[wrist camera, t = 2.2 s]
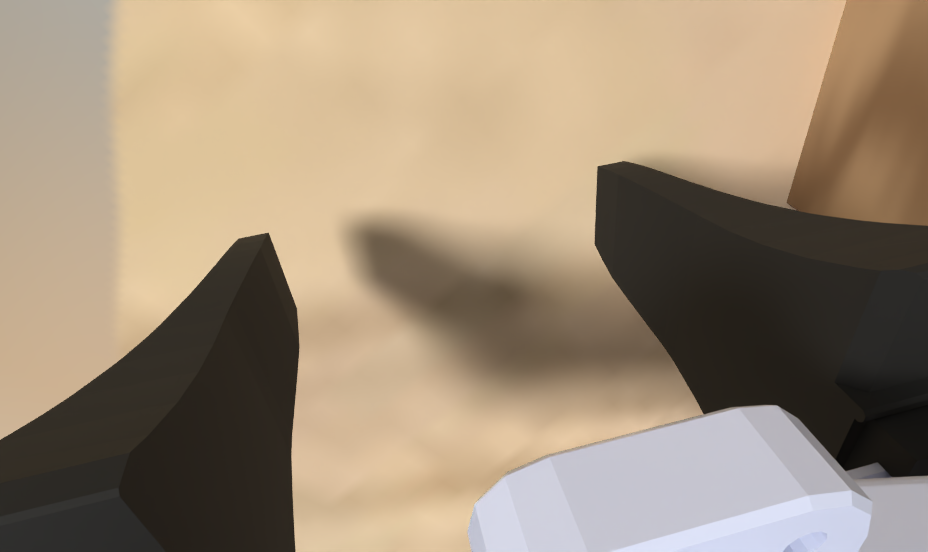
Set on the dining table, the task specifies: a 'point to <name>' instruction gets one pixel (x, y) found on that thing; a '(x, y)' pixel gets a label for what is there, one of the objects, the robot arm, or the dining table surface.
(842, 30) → the walnut block
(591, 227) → the dining table surface
